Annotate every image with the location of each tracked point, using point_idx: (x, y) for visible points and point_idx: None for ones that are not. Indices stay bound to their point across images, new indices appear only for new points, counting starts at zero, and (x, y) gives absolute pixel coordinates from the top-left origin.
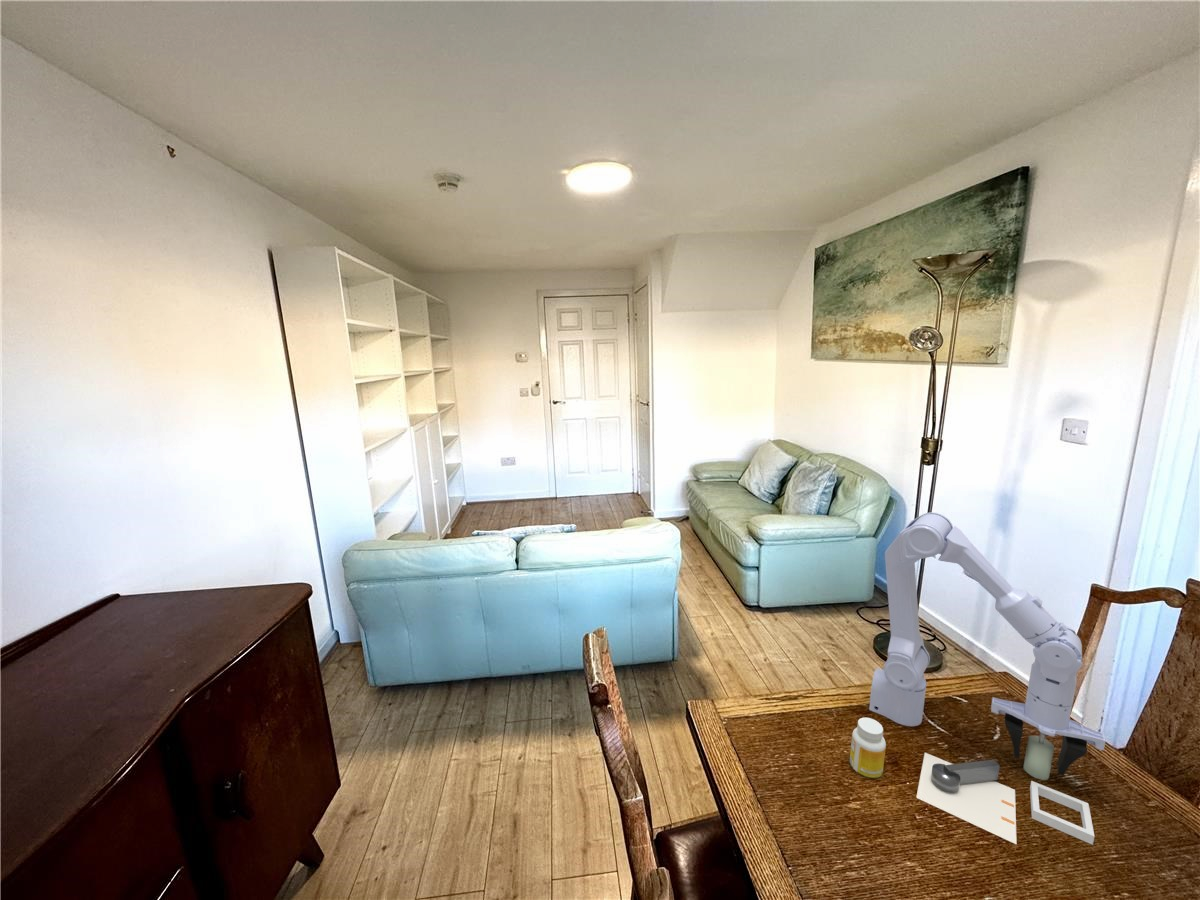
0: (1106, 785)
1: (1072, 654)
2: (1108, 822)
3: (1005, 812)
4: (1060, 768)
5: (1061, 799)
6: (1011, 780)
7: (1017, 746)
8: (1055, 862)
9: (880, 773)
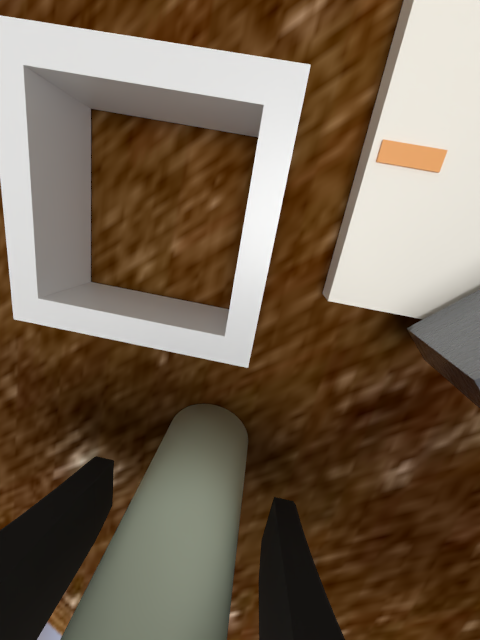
0: (7, 477)
1: None
2: (5, 303)
3: (459, 48)
4: (82, 490)
5: (129, 307)
6: (306, 380)
7: (302, 596)
8: None
9: None
